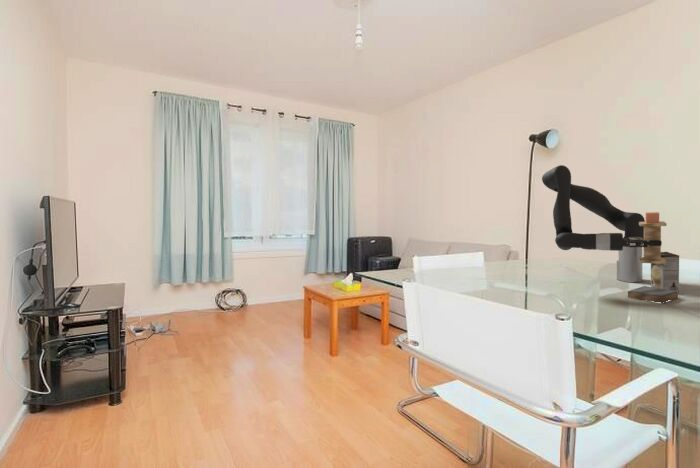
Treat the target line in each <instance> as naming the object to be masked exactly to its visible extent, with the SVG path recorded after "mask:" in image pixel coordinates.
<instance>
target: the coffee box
mask: <svg viewBox="0 0 700 468" xmlns="http://www.w3.org/2000/svg"><path fill="white" fill-rule="evenodd" d="M661 258H664V259H665V260H666V264H658V263H650V287H654V288H660V289H666V290H673V291H676V292H678V293H679V291H680V255H678V254H676V253H672V252H668V251H661Z"/></svg>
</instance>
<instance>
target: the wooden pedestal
mask: <svg viewBox="0 0 700 468" xmlns="http://www.w3.org/2000/svg"><path fill="white" fill-rule="evenodd" d="M639 225H640V226H644V240H661V239H662V227H667V223H666V222H665V221H664V220H663V221H660V220H659V223H646V222H639ZM661 241H662V240H661ZM661 246H662V245H661ZM661 246H648V247H643V256H642V257H639V261H640V263H642V264H651V263H658V264H666V260H665V259H664V258H661V252H662V249H661V248H662V247H661Z"/></svg>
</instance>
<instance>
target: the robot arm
mask: <svg viewBox="0 0 700 468" xmlns="http://www.w3.org/2000/svg"><path fill="white" fill-rule="evenodd" d="M541 181H542V183H543V185H544V186H545V187H546V188H548V189H550V190H551V191H553V192H555V193H556V198H555V202H554V205H553V210H552V217H553V224H554V225H553V226H554V229H555V236H556V237H555V239H554V241H555V244H556V246H557V247H558V248H559V249H560V250H562V251H569V250H571V249H572V248H573V249H575V248H576V249H582V250H588V251H589V250H590V251H591V250H593V251H594V250H596V251H597V250H598V251H611V252H613V251H617V252H618V260H616V280H618V281H622V282H626V283H627V282H628V283H640V282H643V278H644V276H643V274H644V273H643V263H640V261H639V257H643V248H644V247H648V246H662V240H644V226H640V225H639V222H645V217H644V216H643V215H642V214H641V213H639V212H629V211H628V212H627V211H624V210H621V209H619V208H618V207H615V205H613V204H612V203H611V202H610V200H609V198H607V196H606V195H604V194H603V193H601V192H599V191H598V190H596V189H594V188H592V187H588V186H583V185H577V184H573V183H572V174H571V170H570V169H569V168H568V167H567V166H566V165H562V164H561V165H557V166H555V167H553V168H552V169H549V170H548V171H546V172H544V174H543V175H542V176H541ZM571 201H573V202H575V203H577V204H578V205H580V207H582V208H584V209H586V210H588V211H590V212H592V213H593V214H595V215H597V216H599V217H601V218H603V219H604V220H606V221H607V222H608V223H610V224H611V225H612V226H613V227H614V228H616V229H617V230H620V231H621V232H601V233H599V232H598V233H578V232H573V228H572V226H573V225H572V216H571V215H572V214H571ZM622 232H624V235H623V233H622Z"/></svg>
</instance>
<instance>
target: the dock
mask: <svg viewBox="0 0 700 468" xmlns="http://www.w3.org/2000/svg"><path fill="white" fill-rule="evenodd" d="M627 299H633V300H638V301H642V300H647V301H646V302H648V301H654V302H661V303H663V302H666V301H668V300H672V301H674V299H675V300H677V299H679V292H676V291H673V290H666V289H660V288H654V287H651V286H647V285H643V286H641V287H640V286H639V287H637V288H634V289H630V290H628V291H627Z"/></svg>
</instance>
